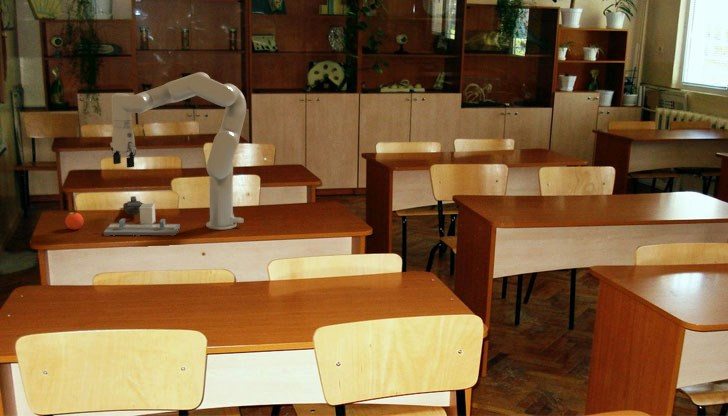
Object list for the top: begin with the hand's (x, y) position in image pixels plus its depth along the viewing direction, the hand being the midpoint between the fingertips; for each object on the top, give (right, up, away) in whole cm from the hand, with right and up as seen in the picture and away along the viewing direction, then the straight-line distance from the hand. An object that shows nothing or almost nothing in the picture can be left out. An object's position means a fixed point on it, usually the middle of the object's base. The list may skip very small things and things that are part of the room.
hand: (123, 165), depth 310 cm
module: (+7, -24, +9) cm, 27 cm away
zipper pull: (-3, -20, +26) cm, 33 cm away
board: (+9, -27, -3) cm, 29 cm away
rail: (+9, -26, -3) cm, 27 cm away
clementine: (-19, -26, -3) cm, 33 cm away
